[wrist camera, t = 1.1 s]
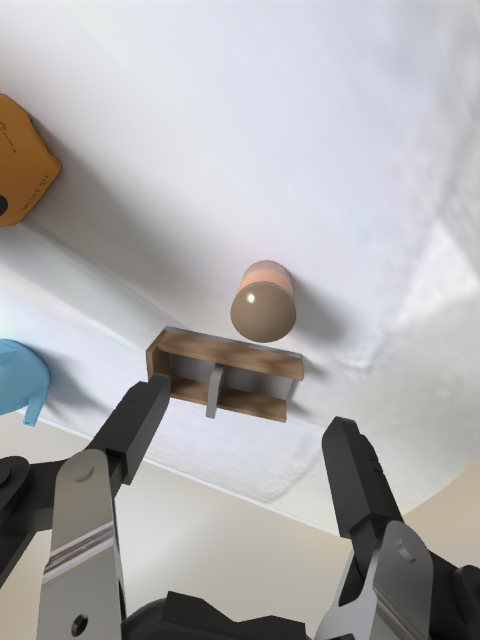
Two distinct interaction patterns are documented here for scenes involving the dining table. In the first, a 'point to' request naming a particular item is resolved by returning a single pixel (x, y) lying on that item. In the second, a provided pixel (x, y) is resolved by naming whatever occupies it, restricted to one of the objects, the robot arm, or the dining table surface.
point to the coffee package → (21, 163)
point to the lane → (241, 371)
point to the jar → (264, 303)
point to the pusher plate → (215, 389)
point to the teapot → (22, 380)
